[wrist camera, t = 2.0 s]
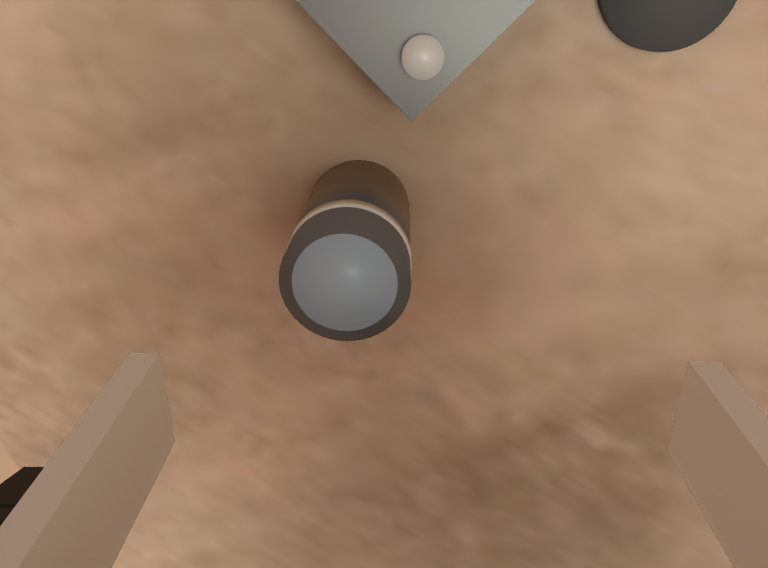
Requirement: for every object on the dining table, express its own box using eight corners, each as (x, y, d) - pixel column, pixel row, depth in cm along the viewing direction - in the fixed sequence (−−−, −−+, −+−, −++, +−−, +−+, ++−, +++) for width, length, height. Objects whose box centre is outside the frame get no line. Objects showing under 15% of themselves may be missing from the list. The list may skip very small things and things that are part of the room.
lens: (360, 274, 34) (346, 366, 26) (288, 208, 32) (249, 282, 24) (431, 209, 32) (440, 285, 24) (358, 137, 31) (342, 191, 23)
